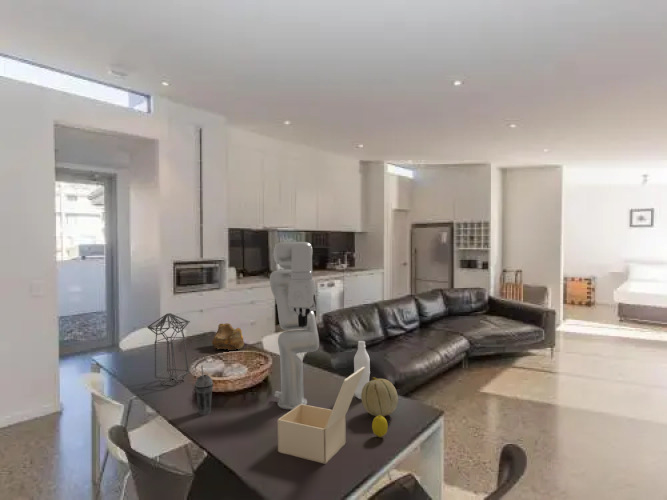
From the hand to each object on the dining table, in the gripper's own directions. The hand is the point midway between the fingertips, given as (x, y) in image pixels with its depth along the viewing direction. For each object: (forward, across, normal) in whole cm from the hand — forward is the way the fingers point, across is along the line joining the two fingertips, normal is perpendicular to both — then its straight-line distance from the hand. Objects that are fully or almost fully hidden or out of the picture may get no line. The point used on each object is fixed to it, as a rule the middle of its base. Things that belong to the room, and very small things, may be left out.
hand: (302, 326), depth 162 cm
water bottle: (+39, +6, +40) cm, 56 cm away
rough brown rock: (+39, -108, +81) cm, 140 cm away
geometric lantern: (+39, -88, +18) cm, 98 cm away
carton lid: (+20, +22, -10) cm, 31 cm away
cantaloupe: (+39, +20, +25) cm, 51 cm away
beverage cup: (+39, -46, -3) cm, 61 cm away
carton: (+39, +9, -10) cm, 41 cm away
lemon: (+39, +27, +7) cm, 48 cm away
